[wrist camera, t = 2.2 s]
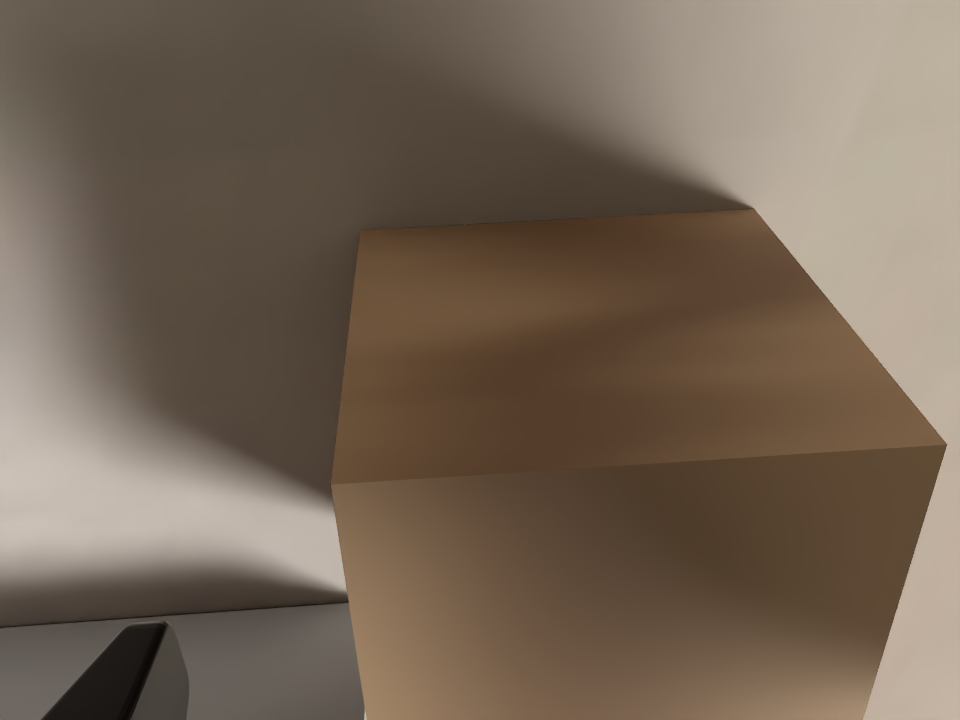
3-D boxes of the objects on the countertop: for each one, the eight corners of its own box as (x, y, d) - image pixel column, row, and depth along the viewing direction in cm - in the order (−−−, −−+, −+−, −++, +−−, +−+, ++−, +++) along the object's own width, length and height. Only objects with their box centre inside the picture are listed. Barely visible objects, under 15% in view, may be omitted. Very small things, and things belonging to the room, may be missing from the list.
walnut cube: (751, 206, 12) (946, 443, 7) (710, 503, 14) (837, 803, 10) (360, 227, 11) (329, 484, 7) (393, 524, 14) (385, 839, 10)
